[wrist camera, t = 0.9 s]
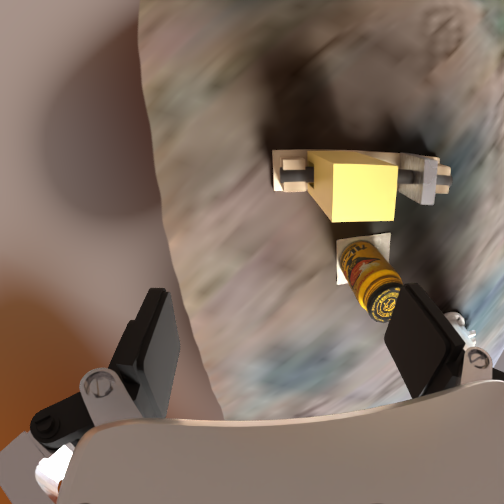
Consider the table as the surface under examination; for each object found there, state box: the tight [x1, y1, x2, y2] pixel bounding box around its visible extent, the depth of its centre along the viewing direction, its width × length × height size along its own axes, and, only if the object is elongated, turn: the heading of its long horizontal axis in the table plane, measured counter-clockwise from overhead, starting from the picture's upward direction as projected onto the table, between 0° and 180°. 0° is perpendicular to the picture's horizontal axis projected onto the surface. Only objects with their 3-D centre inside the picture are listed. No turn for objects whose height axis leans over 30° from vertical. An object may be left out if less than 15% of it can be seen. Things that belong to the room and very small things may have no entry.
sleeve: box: [307, 151, 398, 222], centre depth 28 cm, size 6×5×11 cm
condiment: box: [336, 233, 404, 323], centre depth 34 cm, size 7×8×12 cm
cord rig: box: [272, 150, 453, 194], centre depth 32 cm, size 24×5×5 cm, turn 93°
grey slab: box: [398, 152, 438, 205], centre depth 31 cm, size 2×5×6 cm, turn 3°
